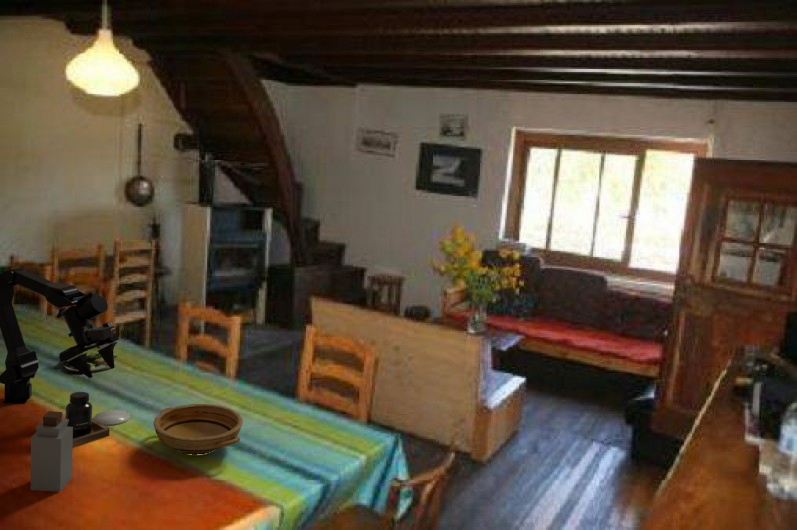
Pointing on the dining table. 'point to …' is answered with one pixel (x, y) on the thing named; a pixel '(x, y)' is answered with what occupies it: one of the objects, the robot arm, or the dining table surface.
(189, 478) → the dining table surface
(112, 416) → the coaster
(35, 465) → the perfume bottle
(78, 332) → the robot arm
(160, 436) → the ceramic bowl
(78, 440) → the wooden u-shaped frame
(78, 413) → the supplement bottle
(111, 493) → the dining table surface
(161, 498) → the dining table surface
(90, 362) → the salad plate
